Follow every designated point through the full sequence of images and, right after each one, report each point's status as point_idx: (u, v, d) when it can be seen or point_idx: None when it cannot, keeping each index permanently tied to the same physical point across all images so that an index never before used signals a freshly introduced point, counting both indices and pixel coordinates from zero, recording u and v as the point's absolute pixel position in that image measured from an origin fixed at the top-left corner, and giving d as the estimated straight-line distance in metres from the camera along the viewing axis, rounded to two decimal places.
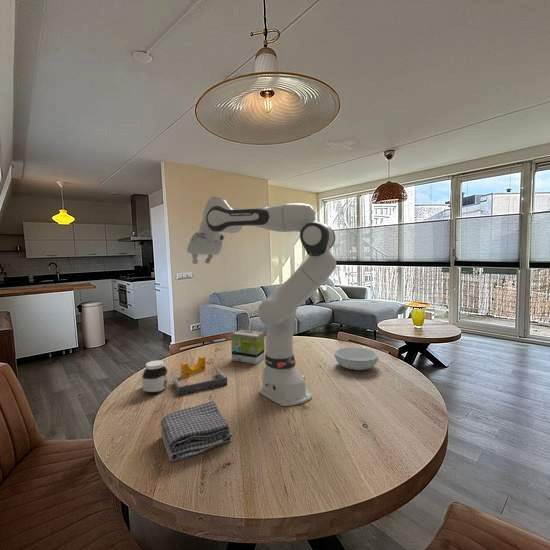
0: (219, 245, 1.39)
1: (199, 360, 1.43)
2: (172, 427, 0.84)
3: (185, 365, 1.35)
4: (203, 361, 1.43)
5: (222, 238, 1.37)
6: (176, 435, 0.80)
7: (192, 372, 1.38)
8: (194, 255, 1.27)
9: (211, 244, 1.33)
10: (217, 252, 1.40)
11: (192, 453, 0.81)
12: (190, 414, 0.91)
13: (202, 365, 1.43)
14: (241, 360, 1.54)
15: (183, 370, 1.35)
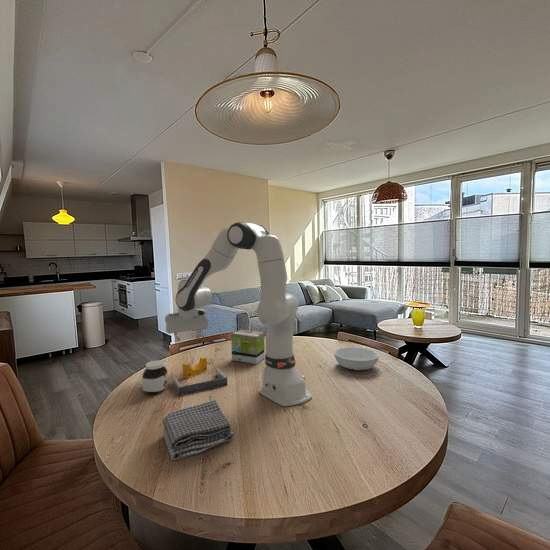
0: (204, 320, 1.48)
1: (200, 360, 1.43)
2: (174, 426, 0.85)
3: (187, 366, 1.34)
4: (204, 361, 1.43)
5: (203, 313, 1.46)
6: (178, 434, 0.81)
7: (193, 373, 1.37)
8: (174, 333, 1.43)
9: (192, 321, 1.45)
10: (204, 327, 1.48)
11: (194, 452, 0.82)
12: (192, 413, 0.92)
13: (203, 365, 1.42)
14: (241, 360, 1.54)
15: (185, 371, 1.34)
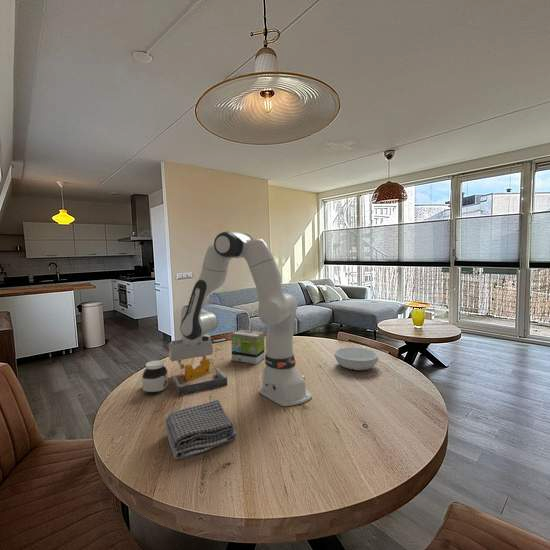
0: (209, 346, 1.43)
1: (203, 362, 1.40)
2: (177, 425, 0.85)
3: (189, 367, 1.32)
4: (207, 363, 1.40)
5: (207, 339, 1.42)
6: (181, 433, 0.81)
7: (196, 374, 1.35)
8: None
9: (196, 347, 1.41)
10: (209, 353, 1.44)
11: (197, 451, 0.82)
12: (194, 413, 0.92)
13: (206, 367, 1.40)
14: (241, 360, 1.54)
15: (187, 372, 1.32)
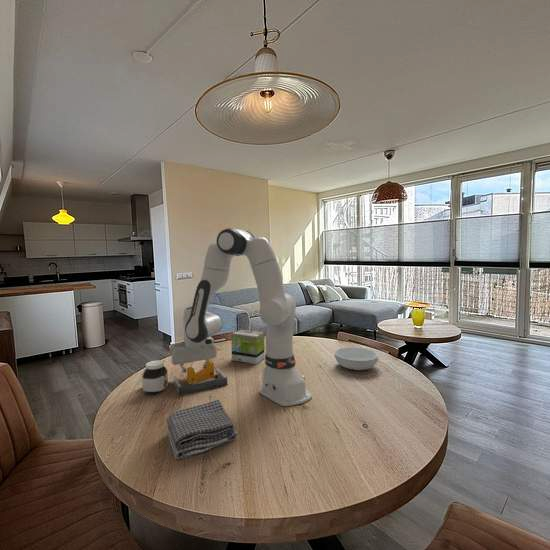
0: (212, 349, 1.39)
1: (207, 365, 1.36)
2: (178, 425, 0.85)
3: (191, 370, 1.29)
4: (211, 366, 1.36)
5: (210, 342, 1.37)
6: (181, 433, 0.81)
7: (198, 378, 1.31)
8: (180, 364, 1.34)
9: (199, 350, 1.36)
10: (212, 356, 1.39)
11: (197, 451, 0.82)
12: (195, 413, 0.92)
13: (210, 371, 1.35)
14: (241, 360, 1.54)
15: (189, 375, 1.29)
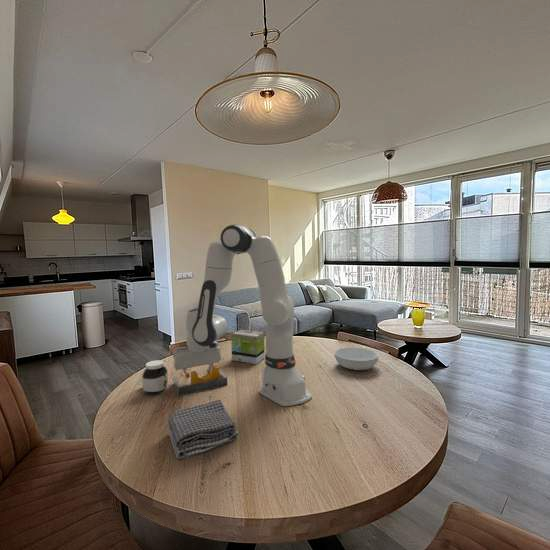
0: (216, 353, 1.33)
1: (213, 370, 1.31)
2: (179, 425, 0.85)
3: (194, 374, 1.24)
4: (216, 371, 1.30)
5: (214, 345, 1.31)
6: (183, 433, 0.82)
7: None
8: (183, 369, 1.28)
9: (202, 354, 1.30)
10: (216, 360, 1.33)
11: (199, 451, 0.82)
12: (196, 412, 0.92)
13: (215, 376, 1.30)
14: (241, 360, 1.54)
15: (192, 379, 1.24)
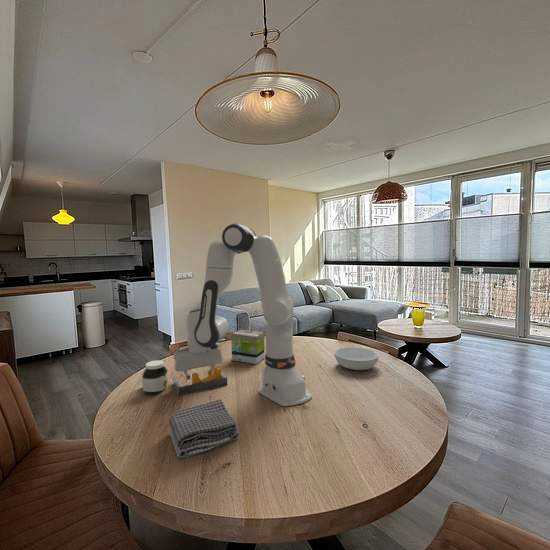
0: (217, 354, 1.31)
1: (214, 371, 1.29)
2: (180, 424, 0.86)
3: (195, 376, 1.22)
4: (218, 373, 1.28)
5: (216, 347, 1.29)
6: (184, 432, 0.82)
7: None
8: (183, 371, 1.26)
9: (203, 356, 1.28)
10: (218, 361, 1.31)
11: (200, 450, 0.83)
12: (198, 412, 0.92)
13: (217, 377, 1.28)
14: (241, 360, 1.54)
15: (193, 382, 1.22)
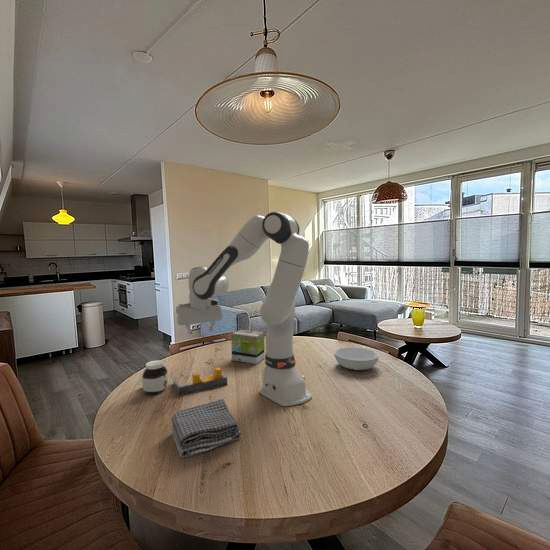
0: (218, 310, 1.38)
1: (215, 372, 1.28)
2: (182, 424, 0.86)
3: (196, 377, 1.22)
4: (219, 373, 1.28)
5: (216, 303, 1.36)
6: (186, 432, 0.82)
7: None
8: (186, 326, 1.33)
9: (204, 311, 1.35)
10: (218, 318, 1.38)
11: (202, 450, 0.83)
12: (200, 412, 0.92)
13: (217, 378, 1.27)
14: (241, 360, 1.54)
15: (194, 382, 1.22)
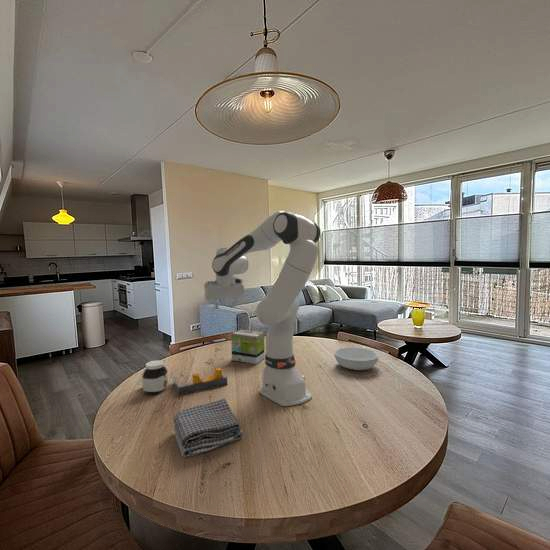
0: (241, 288, 1.52)
1: (215, 372, 1.28)
2: (184, 424, 0.86)
3: (196, 377, 1.22)
4: (219, 374, 1.27)
5: (239, 281, 1.50)
6: (188, 431, 0.82)
7: None
8: (212, 301, 1.47)
9: (229, 289, 1.49)
10: (241, 295, 1.52)
11: (204, 449, 0.83)
12: (202, 411, 0.93)
13: (218, 378, 1.27)
14: (241, 360, 1.54)
15: (194, 382, 1.22)
